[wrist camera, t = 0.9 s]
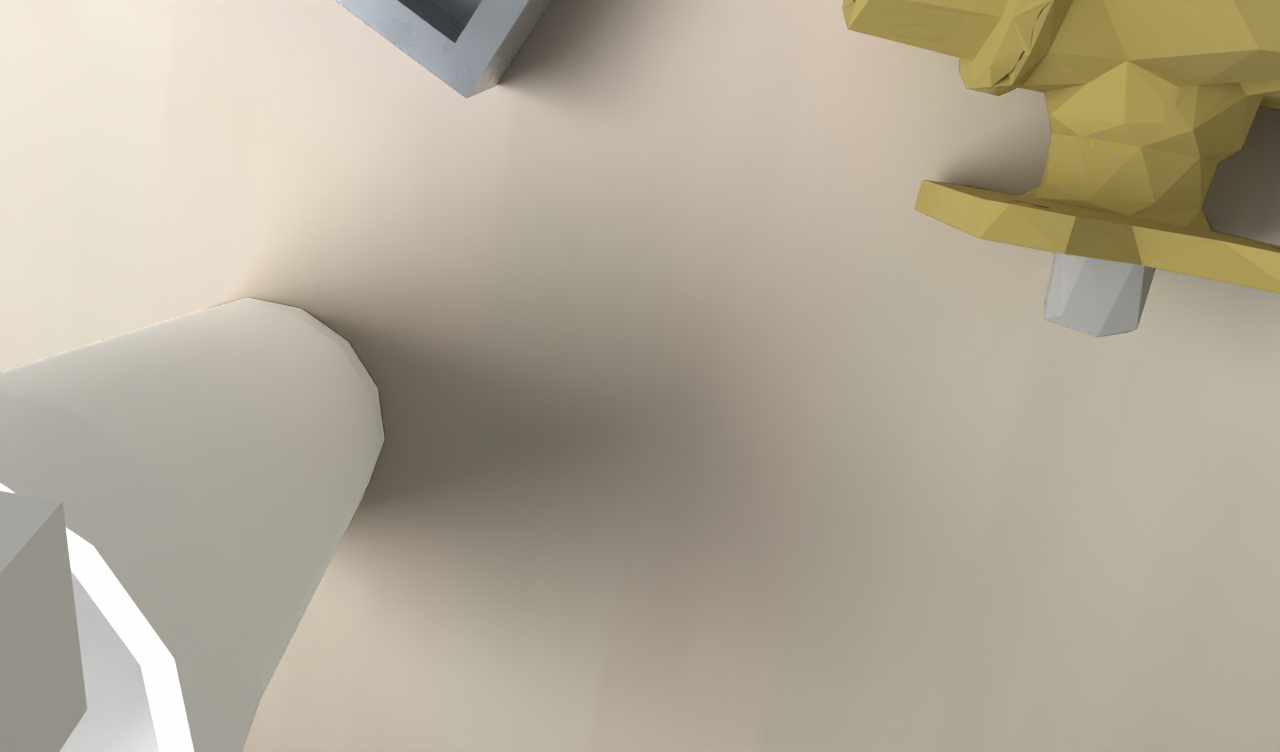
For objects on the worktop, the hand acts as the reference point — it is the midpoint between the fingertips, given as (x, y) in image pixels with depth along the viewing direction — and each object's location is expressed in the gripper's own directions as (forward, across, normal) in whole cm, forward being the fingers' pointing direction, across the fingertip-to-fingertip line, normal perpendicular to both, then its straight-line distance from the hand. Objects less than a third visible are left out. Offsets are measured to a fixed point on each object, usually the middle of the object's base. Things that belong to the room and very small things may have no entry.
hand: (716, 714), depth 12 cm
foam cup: (+17, +11, +9) cm, 22 cm away
